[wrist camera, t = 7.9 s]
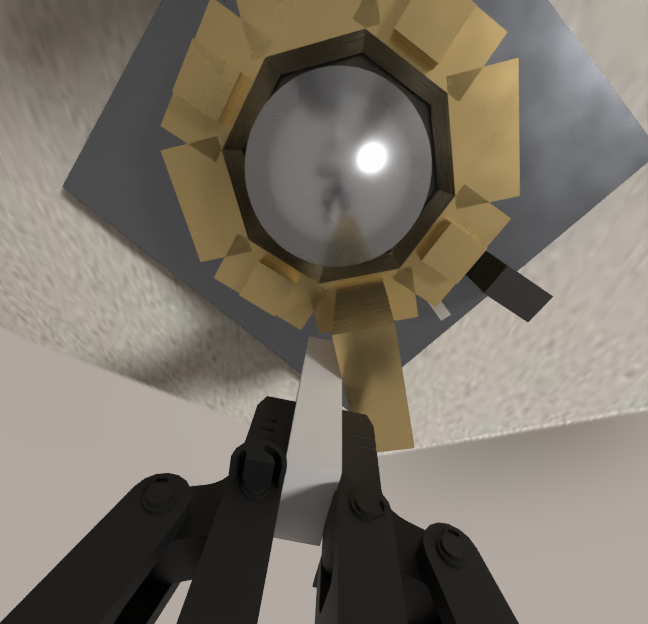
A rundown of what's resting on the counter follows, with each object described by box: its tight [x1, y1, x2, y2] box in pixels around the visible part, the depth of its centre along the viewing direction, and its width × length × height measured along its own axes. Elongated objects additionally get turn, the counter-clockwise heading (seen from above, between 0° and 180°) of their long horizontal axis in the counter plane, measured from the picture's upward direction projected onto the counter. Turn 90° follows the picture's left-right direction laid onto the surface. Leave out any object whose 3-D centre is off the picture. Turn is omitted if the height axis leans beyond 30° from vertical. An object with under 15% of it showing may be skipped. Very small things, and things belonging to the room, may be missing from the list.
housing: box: [63, 0, 648, 411], centre depth 15 cm, size 20×20×7 cm
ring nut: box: [161, 0, 520, 452], centre depth 14 cm, size 16×13×8 cm
